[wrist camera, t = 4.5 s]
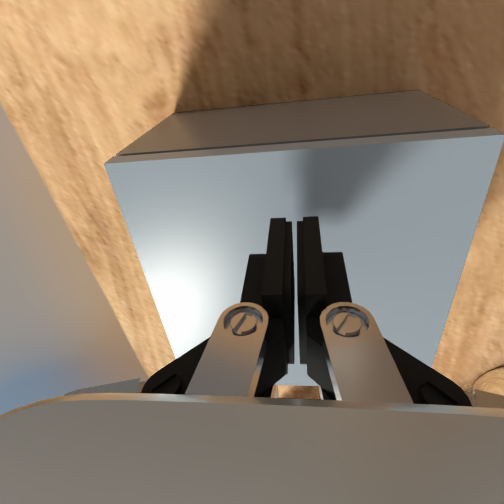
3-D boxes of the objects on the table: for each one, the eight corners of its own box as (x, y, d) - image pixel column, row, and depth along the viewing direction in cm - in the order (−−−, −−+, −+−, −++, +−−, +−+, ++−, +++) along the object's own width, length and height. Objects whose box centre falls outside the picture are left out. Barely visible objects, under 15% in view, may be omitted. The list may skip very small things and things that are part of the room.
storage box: (173, 112, 20) (115, 154, 14) (418, 90, 18) (489, 125, 12) (212, 289, 28) (187, 371, 21) (387, 287, 26) (420, 376, 19)
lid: (113, 156, 13) (103, 163, 13) (493, 127, 11) (505, 134, 11) (187, 371, 21) (184, 382, 21) (420, 376, 19) (424, 388, 19)
